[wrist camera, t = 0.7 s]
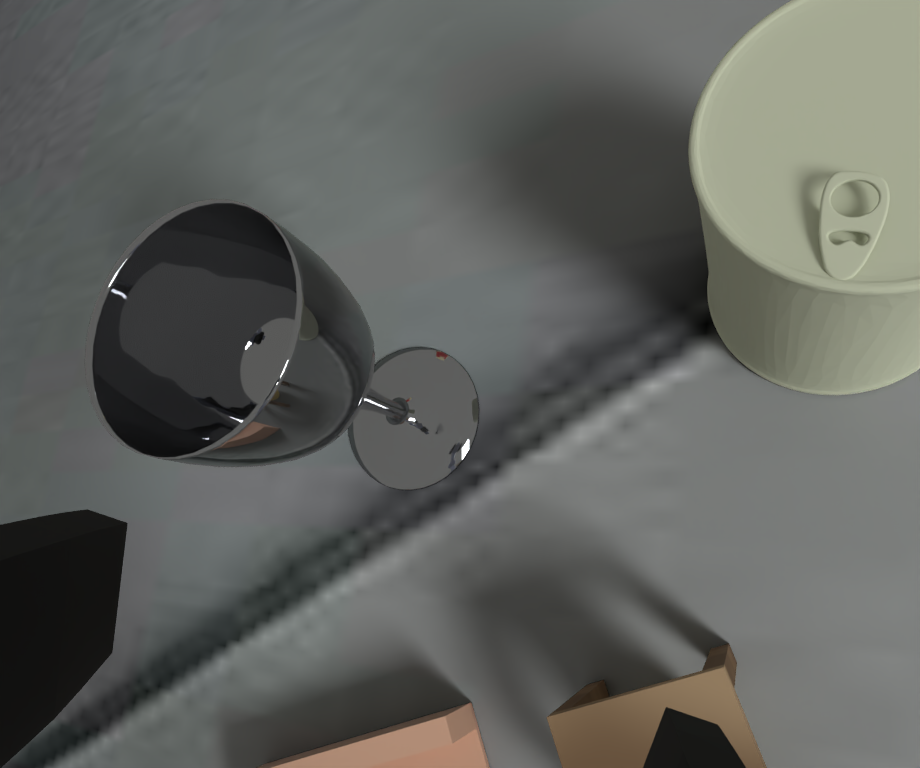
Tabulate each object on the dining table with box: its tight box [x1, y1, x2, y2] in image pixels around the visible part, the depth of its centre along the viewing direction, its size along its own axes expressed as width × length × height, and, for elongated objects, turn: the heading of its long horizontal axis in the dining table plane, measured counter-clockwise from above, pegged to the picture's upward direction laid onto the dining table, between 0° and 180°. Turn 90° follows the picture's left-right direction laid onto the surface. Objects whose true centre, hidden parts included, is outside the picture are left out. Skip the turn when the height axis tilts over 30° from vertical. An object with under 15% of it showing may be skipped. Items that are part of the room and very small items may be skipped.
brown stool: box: [547, 644, 767, 768], centre depth 23 cm, size 6×6×6 cm
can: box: [688, 0, 920, 395], centre depth 22 cm, size 9×9×12 cm
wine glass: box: [85, 199, 479, 490], centre depth 27 cm, size 8×8×15 cm
